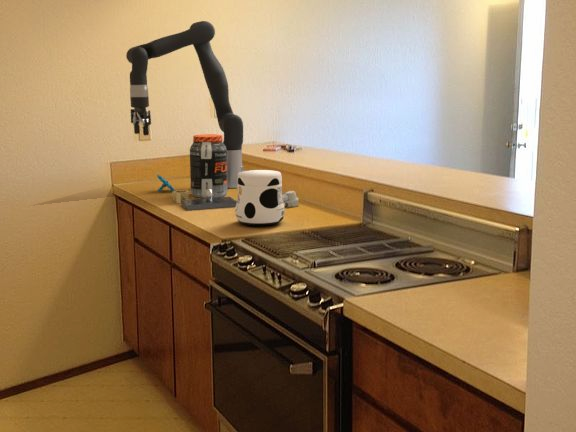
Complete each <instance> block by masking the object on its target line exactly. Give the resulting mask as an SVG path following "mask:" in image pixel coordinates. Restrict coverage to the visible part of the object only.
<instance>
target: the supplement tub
mask: <svg viewBox="0 0 576 432" xmlns="http://www.w3.org/2000/svg"><path fill="white" fill-rule="evenodd" d="M192 138H193V139H192V144H191V146H190V147H189V167H190V168H189V169H190V170H189V171H190V193H191V195H192V196H193V197H196V198H198V199H202V198H206V189H212V198H216V197H226V195H227V194H228V188H227V149H226V146H225V145H224V144H223V141H224V136H223V135H222V134H214V133H213V134H211V133H210V134H195V135H193V137H192Z"/></svg>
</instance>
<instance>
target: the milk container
mask: <svg viewBox="0 0 576 432" xmlns="http://www.w3.org/2000/svg"><path fill="white" fill-rule="evenodd" d="M237 182H238V185H237V188H236V189H237V200H236V201H237V204H236V207H235V217H236V219H237V221H238V222H239V223H240V224H243V225H248V226H253V227H254V226H259V227H262V226H264V227H265V226H271V225H276V224H278V223H281V222H282V221H283V220H284V217H285V211H286V209H285V203H284V202H283V200H282V194H283V193H282V192H283V185H282V183H283V178H282V173H281V172H280V171H278V170H272V169H270V170H269V169H253V170H251V169H250V170H244V171H242V172H239V173H238V178H237Z"/></svg>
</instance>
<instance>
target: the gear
mask: <svg viewBox="0 0 576 432" xmlns="http://www.w3.org/2000/svg"><path fill="white" fill-rule="evenodd" d="M156 176H157V179H159V181H160V182H162V184H161V186H160V187H159V188H158V189H157V191H158V192H159V193H161V191H162V190H164V188H168V189H170V191H172V192H173V191H176V190H175V188H174V187H173V186H172V185H171V184H170V183H169V181H168V180H166V179H165V178H164V177H162V176H161V175H160V174H157V175H156Z"/></svg>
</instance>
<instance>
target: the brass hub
mask: <svg viewBox="0 0 576 432" xmlns="http://www.w3.org/2000/svg"><path fill="white" fill-rule="evenodd" d="M188 199H190V191H189V190H186V189H185V190H183V189H182V190H181V189H180V190H175V191H172V203H173V204H176V205H181V200H188Z"/></svg>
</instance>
